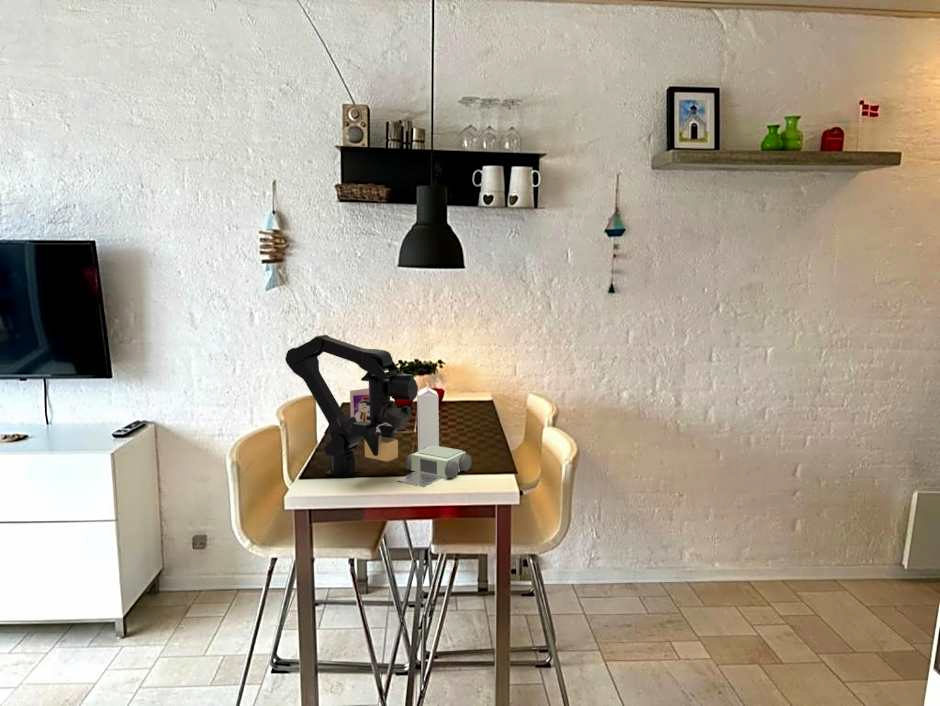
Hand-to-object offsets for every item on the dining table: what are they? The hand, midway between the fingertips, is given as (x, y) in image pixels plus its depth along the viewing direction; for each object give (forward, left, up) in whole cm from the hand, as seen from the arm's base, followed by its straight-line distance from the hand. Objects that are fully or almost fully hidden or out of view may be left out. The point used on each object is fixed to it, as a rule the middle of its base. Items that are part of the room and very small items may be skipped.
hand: (381, 453), depth 183 cm
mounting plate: (+9, +5, -7) cm, 13 cm away
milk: (-3, +26, -7) cm, 27 cm away
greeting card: (-36, +37, -7) cm, 52 cm away
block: (0, 0, -1) cm, 1 cm away
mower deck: (+9, +14, -7) cm, 18 cm away
